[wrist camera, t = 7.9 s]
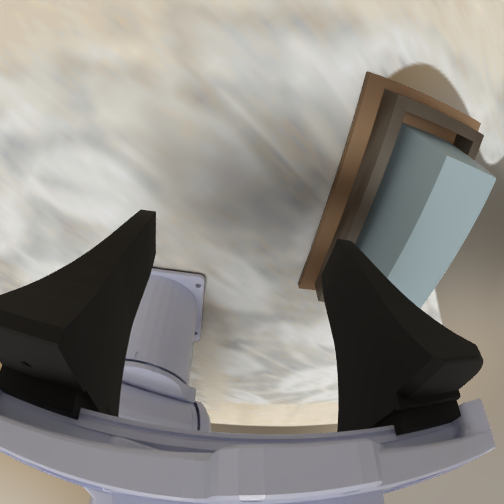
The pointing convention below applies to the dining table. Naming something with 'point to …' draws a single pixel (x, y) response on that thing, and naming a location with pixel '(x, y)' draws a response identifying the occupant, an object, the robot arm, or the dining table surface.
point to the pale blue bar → (422, 211)
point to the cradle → (378, 160)
